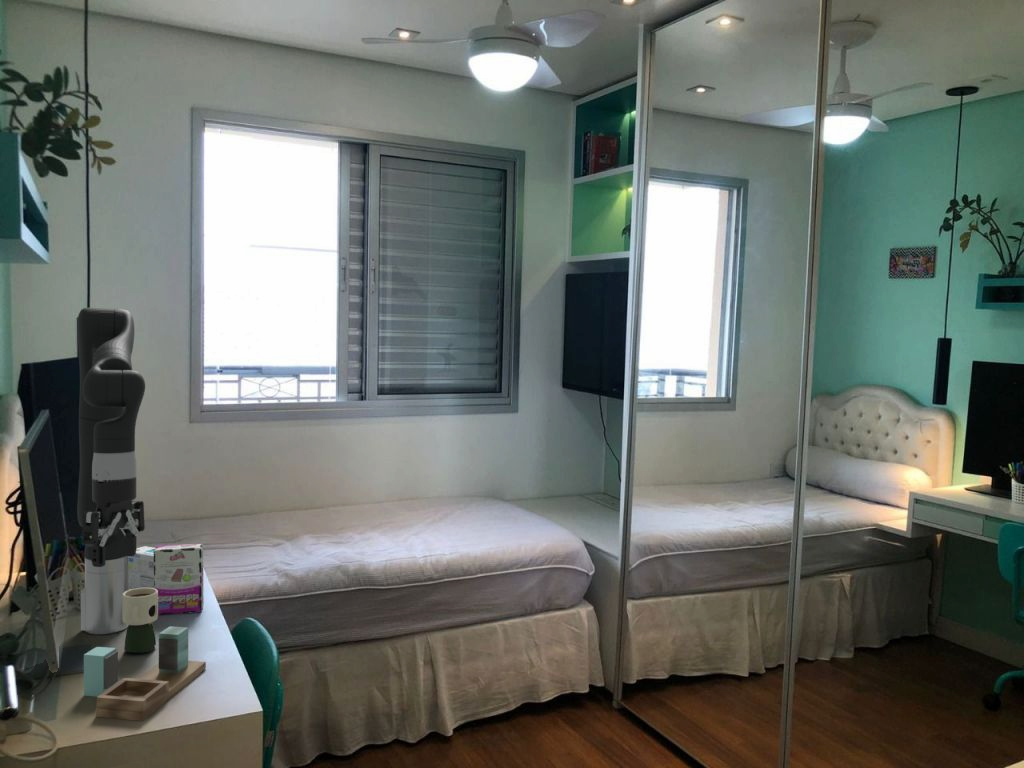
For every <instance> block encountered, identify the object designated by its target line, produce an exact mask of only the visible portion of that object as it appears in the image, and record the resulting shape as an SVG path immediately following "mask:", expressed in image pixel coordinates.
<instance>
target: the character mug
mask: <svg viewBox="0 0 1024 768" xmlns="http://www.w3.org/2000/svg"><path fill="white" fill-rule="evenodd" d="M158 618H159V615H158V590H157V589H155V588H136V589H131V590H128V591H125V592H124V593H123V596H122V621H123V623H124V624H127V625H129V626H128V627H127V628H126V633H125V638H124V639H125V640H124V648H123V649H124V650H123V651H125V652H127V653H137V654H141V653H148V652H151V651H152V650H155V649H156V646H157V644H156V643H157V642H156V633H155V628H154V625H153V622H156V621H157V620H158Z"/></svg>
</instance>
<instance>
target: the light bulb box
mask: <svg viewBox="0 0 1024 768" xmlns="http://www.w3.org/2000/svg"><path fill="white" fill-rule="evenodd" d="M155 549H156V547H152V546H151V547H150V546H147V545H145V546H141V547H136V555H134V556H129V589H136V588H154V550H155Z"/></svg>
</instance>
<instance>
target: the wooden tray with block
mask: <svg viewBox="0 0 1024 768" xmlns="http://www.w3.org/2000/svg"><path fill="white" fill-rule="evenodd" d="M205 668H207V662H206V661H200V660H199V661H197V660H196V661H195V660H189V627H184V626H183V627H182V626H171V625H170V626H168V627H167V628H165V629H163V630H162V631H161V632H159V633H158V663H157V664H156V665H154V666H153V667H152V668H150V669H149V670H147V671H146V672H145V673H143V674H142V675H140V676H138V678H131V677H130V678H129V677H123V678H121V679H120V681H119V680H118V682H116V684H115V685H113V686H112V687H111V688H109V689H108V690H106V691H105V692H103V693H102V694H101V695H99V696H98V697H96V708H95V717H96V718H105V719H106V718H107V719H117V720H129V721H130V720H131V721H140V722H141V721H142V722H143V721H144V720H146V718H148V717H149V716H150V715H152V714H153V713H154V712H155V711H157V710H158V709H159V708H160V707H161V706H162V705H164V704H165V703H167V701H168V700H170V699H171V698H172V697H174V695H176V694H178V693H179V692H180V691H181V690H182V689H183V688H184V687H186V686H187V685H188V684H189V683H191V682H192V681H193V680H194V679H196V676H197V677H198V676H199V675H201V672H202V671H203V670H204V669H205ZM205 670H206V669H205ZM205 670H204V671H205ZM204 671H203V672H204ZM203 672H202V673H203Z"/></svg>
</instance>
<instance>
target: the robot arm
mask: <svg viewBox="0 0 1024 768" xmlns="http://www.w3.org/2000/svg"><path fill="white" fill-rule="evenodd" d="M76 329H77V346H78V362H79V363H78V365H79V401H78V402H79V405H78V439H79V443H78V444H79V476H78V477H79V478H78V489H77V490H78V491H77V505H76V514H77V521H78V525H79V526H80V527H81V528H82V530H81V544H82V545H85V547H84V588H82V589H81V590H80V631H84V632H86V633H87V634H90V635H91V634H92V635H107V634H109V635H110V634H113V633H118V632H121V631H124V630H125V629H126V630H127V628H128V626H129V625H127V624H124V623H123V621H122V596H123V593H124V592H125V591H128V590H129V556H134V555H136V549H137V537H138V536H139V533H140V532H144V531H145V530H146V529H145V527H146V526H145V525H146V524H145V508H144V507H145V505H144V504H145V503H144V501H143V500H136V499H137V458H136V424H137V419H138V415H139V411H140V407H141V405H142V402H143V399H144V396H145V391H146V382H145V381H146V380H145V379H144V377H143V375H142V374H141V373H140V372H139V371H137V370H134V369H133V366H132V365H133V364H132V353H133V348H134V344H135V343H134V341H135V321H134V317H133V315H132V313H131V312H130V311H129V310H126V309H122V308H107V307H106V308H105V307H84V308H81V309H80V311H79V312H78V317H77V327H76ZM137 521H138V524H137ZM90 533H91V537H90ZM99 537H100V538H99Z"/></svg>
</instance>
